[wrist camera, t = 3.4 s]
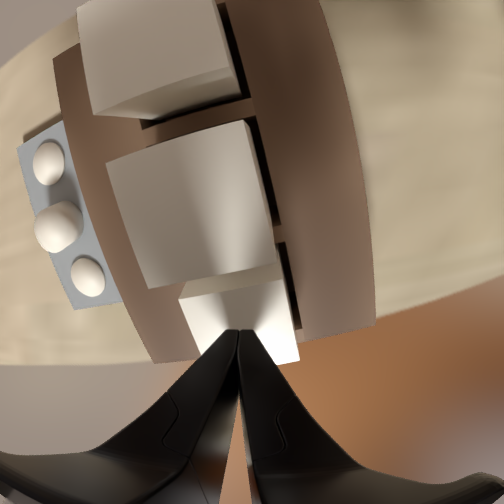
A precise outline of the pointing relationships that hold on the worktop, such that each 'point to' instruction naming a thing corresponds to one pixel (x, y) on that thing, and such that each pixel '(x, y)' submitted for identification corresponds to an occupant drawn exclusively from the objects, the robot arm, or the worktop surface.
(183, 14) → the button
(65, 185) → the card
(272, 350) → the button
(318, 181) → the board
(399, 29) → the worktop surface
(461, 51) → the worktop surface
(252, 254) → the button middle
